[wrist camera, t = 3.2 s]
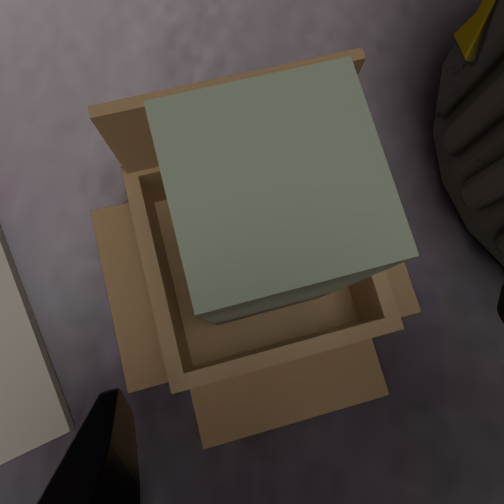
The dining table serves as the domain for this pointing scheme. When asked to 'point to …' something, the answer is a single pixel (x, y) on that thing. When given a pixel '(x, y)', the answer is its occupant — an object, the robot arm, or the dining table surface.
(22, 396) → the tile
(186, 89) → the open cardboard box
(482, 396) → the dining table surface
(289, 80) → the box
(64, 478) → the robot arm
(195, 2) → the dining table surface
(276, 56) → the dining table surface
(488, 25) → the decorative lamp
